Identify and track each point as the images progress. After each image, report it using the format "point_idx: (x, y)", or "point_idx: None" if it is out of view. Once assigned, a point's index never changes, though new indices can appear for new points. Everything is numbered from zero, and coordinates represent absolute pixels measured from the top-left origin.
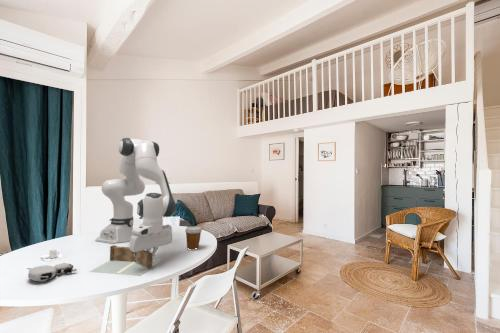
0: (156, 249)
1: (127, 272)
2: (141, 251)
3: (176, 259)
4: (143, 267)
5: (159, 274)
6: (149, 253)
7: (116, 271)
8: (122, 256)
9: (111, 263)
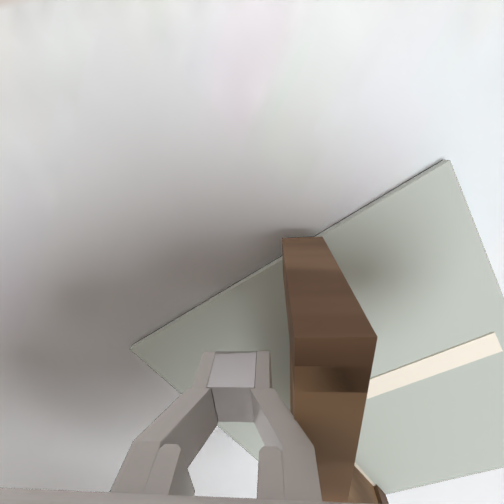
0: (162, 430)
1: (454, 305)
2: (348, 488)
3: (32, 285)
4: None
5: (285, 69)
6: (332, 375)
7: (481, 367)
8: (357, 497)
9: (406, 467)
